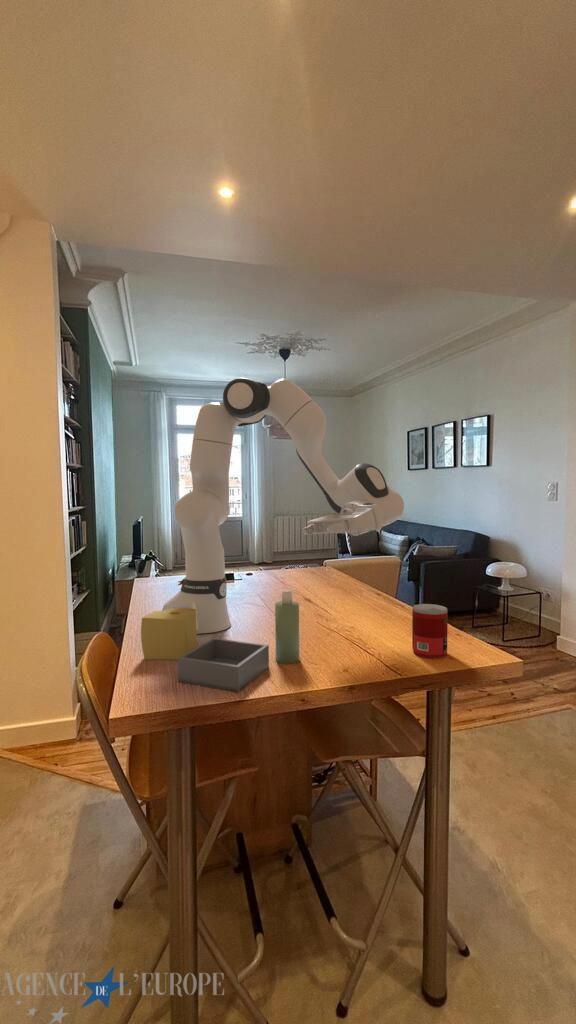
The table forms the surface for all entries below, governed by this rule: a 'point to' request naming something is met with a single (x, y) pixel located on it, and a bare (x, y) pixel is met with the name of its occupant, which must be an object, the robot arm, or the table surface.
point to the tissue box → (168, 633)
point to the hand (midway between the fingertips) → (316, 530)
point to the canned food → (429, 630)
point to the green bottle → (287, 629)
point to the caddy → (223, 664)
